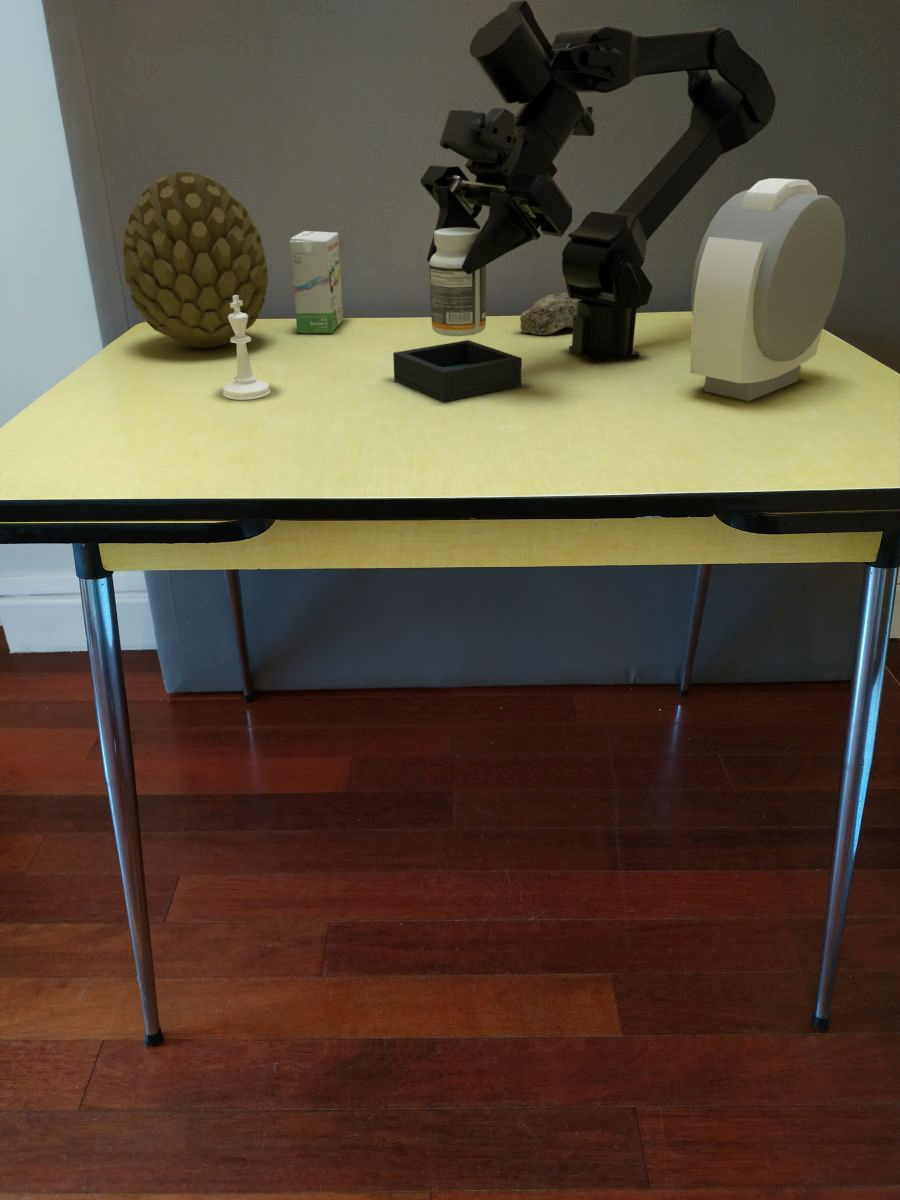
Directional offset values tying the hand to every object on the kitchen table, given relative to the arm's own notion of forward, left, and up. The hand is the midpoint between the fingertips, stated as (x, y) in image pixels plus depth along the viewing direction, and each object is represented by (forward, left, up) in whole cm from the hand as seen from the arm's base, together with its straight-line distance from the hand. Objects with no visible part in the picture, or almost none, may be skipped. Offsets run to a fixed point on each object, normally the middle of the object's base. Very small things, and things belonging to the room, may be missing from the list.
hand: (447, 267), depth 92 cm
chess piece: (+21, -6, -13) cm, 25 cm away
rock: (-22, -21, -13) cm, 33 cm away
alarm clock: (-30, +12, -13) cm, 35 cm away
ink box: (+6, -34, -13) cm, 37 cm away
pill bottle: (-1, 0, -7) cm, 7 cm away
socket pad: (-1, -1, -12) cm, 12 cm away
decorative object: (+22, -29, -13) cm, 38 cm away
